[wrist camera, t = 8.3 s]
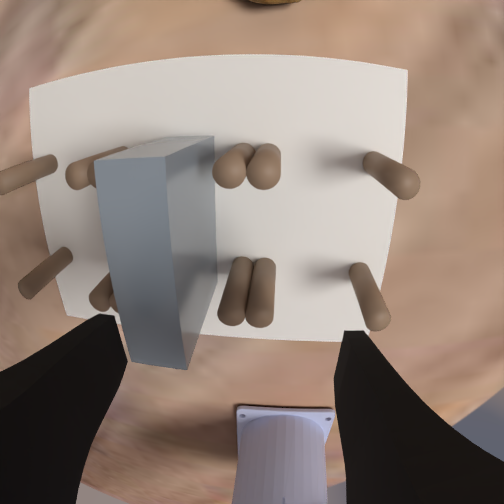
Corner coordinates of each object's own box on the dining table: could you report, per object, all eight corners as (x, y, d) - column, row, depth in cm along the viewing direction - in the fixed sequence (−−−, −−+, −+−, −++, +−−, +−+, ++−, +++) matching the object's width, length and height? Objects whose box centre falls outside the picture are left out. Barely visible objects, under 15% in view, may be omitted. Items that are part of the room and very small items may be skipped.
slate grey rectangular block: (217, 281, 18) (187, 370, 12) (177, 278, 18) (131, 361, 12) (214, 135, 15) (164, 156, 9) (167, 136, 15) (93, 160, 9)
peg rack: (364, 332, 20) (381, 393, 15) (73, 308, 22) (35, 353, 17) (400, 71, 13) (449, 60, 8) (39, 87, 15) (-24, 93, 10)
